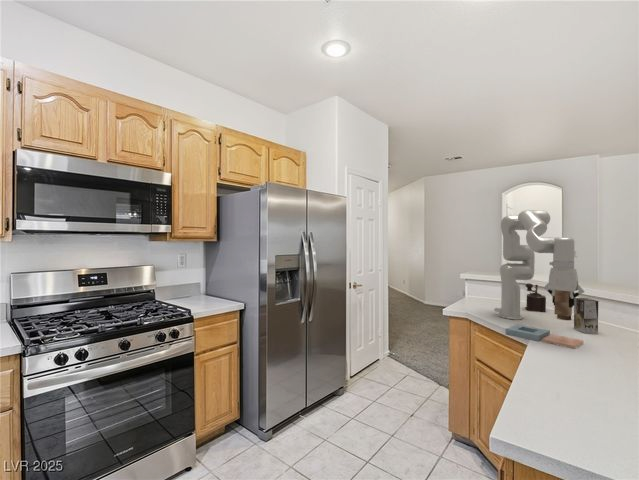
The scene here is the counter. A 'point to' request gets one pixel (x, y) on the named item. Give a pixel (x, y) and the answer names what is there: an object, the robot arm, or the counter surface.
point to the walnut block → (562, 303)
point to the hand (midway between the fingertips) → (563, 305)
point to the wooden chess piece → (564, 317)
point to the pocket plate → (527, 332)
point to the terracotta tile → (563, 341)
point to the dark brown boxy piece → (535, 300)
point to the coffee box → (586, 315)
